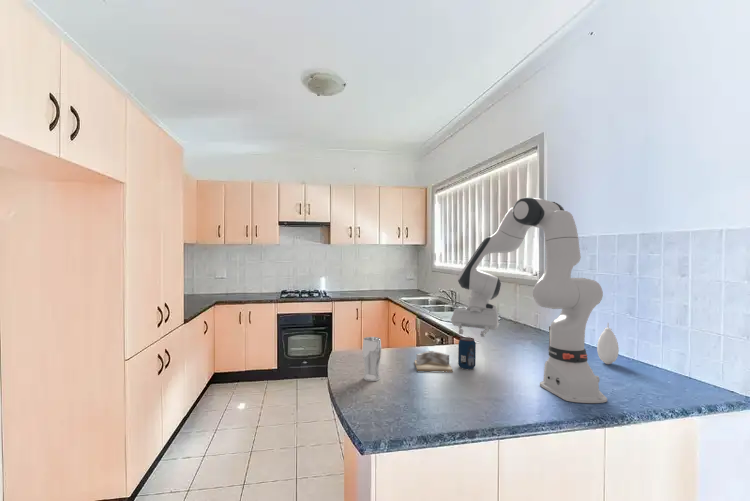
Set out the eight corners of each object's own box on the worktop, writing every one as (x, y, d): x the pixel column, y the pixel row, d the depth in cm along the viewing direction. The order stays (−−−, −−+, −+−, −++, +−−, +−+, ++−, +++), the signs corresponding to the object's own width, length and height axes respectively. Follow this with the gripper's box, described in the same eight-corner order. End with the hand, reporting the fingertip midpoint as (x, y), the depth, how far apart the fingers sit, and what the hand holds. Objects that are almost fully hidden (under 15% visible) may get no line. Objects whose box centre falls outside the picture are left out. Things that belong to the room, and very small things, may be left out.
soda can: (462, 364, 165) (463, 336, 165) (478, 367, 161) (478, 338, 161) (455, 367, 160) (455, 338, 160) (470, 371, 155) (471, 341, 155)
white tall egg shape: (593, 362, 170) (593, 321, 170) (604, 360, 173) (605, 320, 173) (610, 367, 163) (611, 324, 163) (622, 365, 166) (622, 323, 166)
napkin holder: (452, 372, 154) (452, 359, 154) (417, 371, 154) (417, 359, 154) (447, 362, 167) (447, 351, 167) (414, 362, 167) (414, 350, 167)
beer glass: (358, 379, 143) (359, 339, 143) (367, 374, 149) (368, 335, 149) (375, 383, 140) (376, 341, 140) (384, 377, 146) (384, 337, 146)
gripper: (453, 302, 178) (446, 327, 169) (499, 306, 168) (494, 333, 159) (456, 311, 181) (449, 336, 173) (501, 315, 172) (496, 341, 163)
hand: (471, 334), depth 166 cm, fingers open, 8 cm apart
